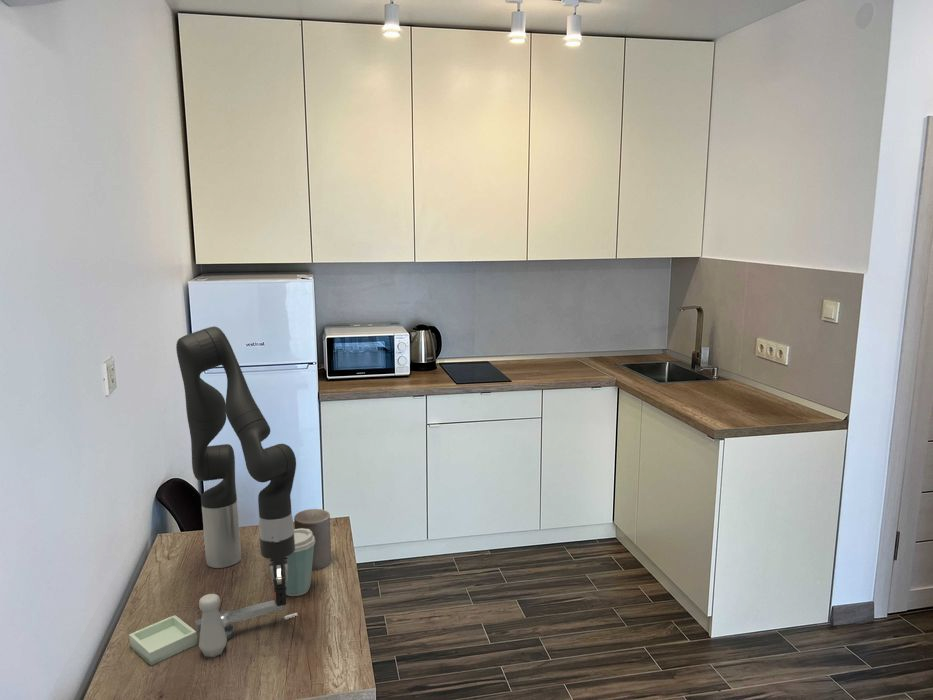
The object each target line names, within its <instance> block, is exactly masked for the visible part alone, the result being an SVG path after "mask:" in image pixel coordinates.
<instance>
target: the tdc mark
mask: <svg viewBox="0 0 933 700" xmlns="http://www.w3.org/2000/svg"><path fill="white" fill-rule="evenodd" d="M295 616H297V617H298V616H299V615H298V612H294V613H290V614H286V615H285V616H283V617H284V618H283V619H284V620H289V618H290V619H293V618H296V617H295ZM292 617H293V618H292Z"/></svg>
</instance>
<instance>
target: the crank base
mask: <svg viewBox="0 0 933 700" xmlns="http://www.w3.org/2000/svg"><path fill="white" fill-rule="evenodd" d="M234 630H235V629H234V625H233V623H231V628H230V629H228V630H227V631H225V633H226V637H227V642H228V641H230V640H232V639H233V637H234V636H235V633H234Z"/></svg>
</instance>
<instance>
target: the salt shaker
mask: <svg viewBox="0 0 933 700" xmlns="http://www.w3.org/2000/svg"><path fill="white" fill-rule="evenodd" d="M198 601H199V602H198V607H199V610H200V611H201V618H202V621H201V631H199V638H198V639H199V641H198V648H199V649H200V651H201V652H202V653H203V656H204V657H205V658H206V657H208V658H215V657H217V656H220V655H222V654H223V652H224V649H225V648H226V645H227V642H228V641H227V637H226V633H225V630H224V626H223V623H222V619H221V616H220V610H219V607H220V605H221V597H220V596H219V595H218V594H216V593H208V594H205V595H203V596H202V597H200V599H199V600H198Z"/></svg>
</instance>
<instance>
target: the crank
mask: <svg viewBox="0 0 933 700" xmlns="http://www.w3.org/2000/svg"><path fill="white" fill-rule="evenodd" d="M273 587H274V584H273ZM273 597H274V599H273V600H269V601H264V602H261V603H257V604H254V605H253V604H252V605H249V606H246V607H241V608H237V609H233V610H221V611H220V610H219V612H220V616H221V619H222V623H223V626H224V630H225V631H227V630H228V629H230V628H231V624H234V623H235V622H236V623H238V622H241V621H243V620H244V621H245V620H247V619H251V618H256V617H259V616H263V615H267V614H270V613H275V612H278V611H281V610H285V609H286V605H283V606H277V604H276V593H275V591H274V590H273ZM201 621H202V617H201V618H197V619H195V627H196V632H197V633H198V632H199V633H200V631H201Z"/></svg>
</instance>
